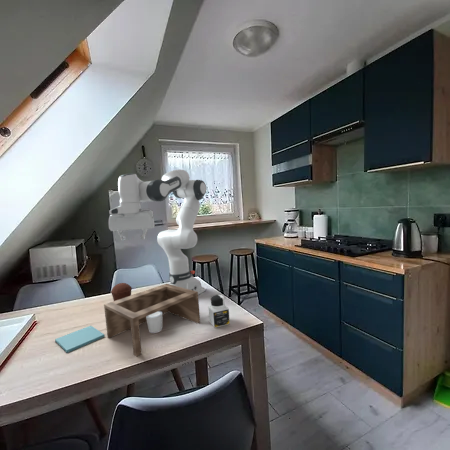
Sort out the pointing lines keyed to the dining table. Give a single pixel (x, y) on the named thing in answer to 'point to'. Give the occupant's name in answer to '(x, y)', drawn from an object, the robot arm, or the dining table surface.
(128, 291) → the muffin
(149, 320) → the shot glass
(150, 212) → the robot arm
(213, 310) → the medicine bottle
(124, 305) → the box
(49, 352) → the dining table surface
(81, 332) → the mat
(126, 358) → the dining table surface
